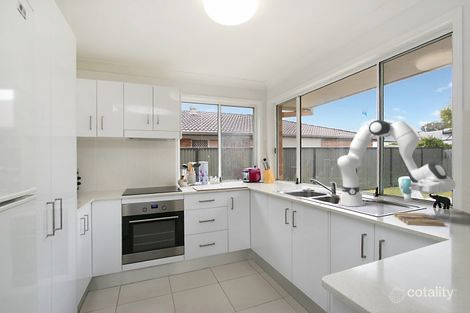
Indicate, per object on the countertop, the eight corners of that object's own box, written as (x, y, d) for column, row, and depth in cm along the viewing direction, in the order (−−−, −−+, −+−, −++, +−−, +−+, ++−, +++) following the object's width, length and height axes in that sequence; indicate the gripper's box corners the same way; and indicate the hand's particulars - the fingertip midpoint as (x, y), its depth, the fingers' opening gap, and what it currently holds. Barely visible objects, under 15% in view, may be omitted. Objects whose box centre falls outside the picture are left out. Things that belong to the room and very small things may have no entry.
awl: (402, 200, 130) (400, 178, 130) (410, 200, 129) (408, 178, 129) (405, 202, 126) (403, 179, 126) (413, 202, 125) (412, 179, 125)
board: (393, 215, 138) (393, 211, 138) (424, 216, 133) (424, 213, 133) (407, 224, 119) (407, 220, 119) (444, 226, 114) (444, 222, 114)
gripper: (410, 179, 140) (390, 180, 138) (444, 182, 119) (422, 183, 117) (410, 189, 139) (391, 191, 138) (445, 193, 119) (422, 195, 117)
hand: (405, 187), depth 127 cm, fingers closed on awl, 4 cm apart
